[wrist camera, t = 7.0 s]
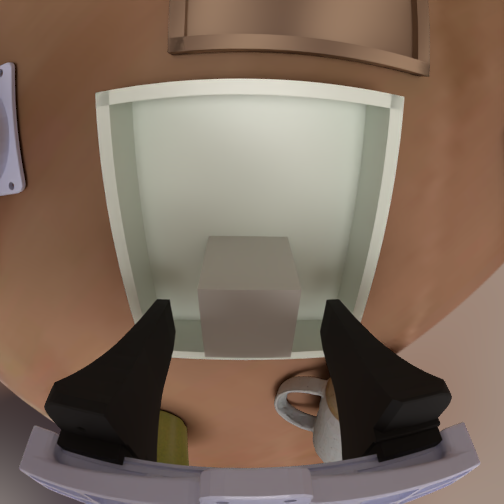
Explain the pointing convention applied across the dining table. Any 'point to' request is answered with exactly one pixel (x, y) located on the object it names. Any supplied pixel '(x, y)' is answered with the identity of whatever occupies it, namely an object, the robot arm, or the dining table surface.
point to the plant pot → (172, 440)
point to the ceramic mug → (322, 424)
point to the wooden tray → (307, 29)
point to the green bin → (248, 188)
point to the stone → (248, 297)
